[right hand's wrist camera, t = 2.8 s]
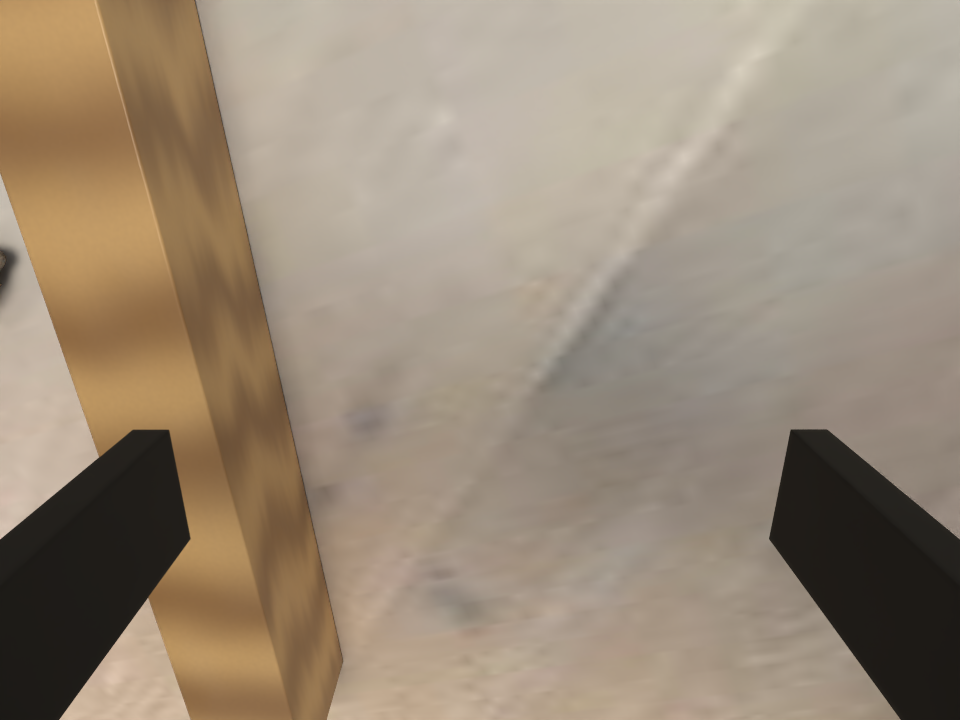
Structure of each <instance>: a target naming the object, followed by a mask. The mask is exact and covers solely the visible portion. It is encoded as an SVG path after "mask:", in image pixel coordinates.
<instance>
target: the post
mask: <svg viewBox="0 0 960 720" xmlns="http://www.w3.org/2000/svg"><path fill="white" fill-rule="evenodd" d="M0 174H1V176H2V179H3V182H4V185H5V188H6V191H7V194H8V197H9V199H10V202H11V205H12V208H13V211H14V214H15V217H16V220H17V222H18V225H19V228H20V231H21V234H22V237H23V240H24V243H25V245H26V248H27V251H28V254H29V257H30V260H31V263H32V265H33V268H34V271H35V274H36V277H37V280H38V283H39V286H40V288H41V291H42V294H43V297H44V300H45V303H46V306H47V309H48V311H49V314H50V317H51V320H52V323H53V326H54V329H55V331H56V334H57V337H58V340H59V343H60V346H61V349H62V352H63V354H64V357H65V360H66V363H67V366H68V369H69V372H70V375H71V377H72V380H73V383H74V386H75V389H76V392H77V395H78V398H79V400H80V403H81V406H82V409H83V412H84V415H85V418H86V420H87V423H88V426H89V429H90V432H91V435H92V438H93V441H94V443H95V446H96V449H97V452H98V455H99V457H100V456H102V455H103V454H104V453H105V452H106V451H108V450H109V449H110V448H111V447H112V446H114V445H115V444H116V443H117V442H119V441H120V440H121V439H122V438H123V437H125V436H126V435H127V434H128V433H129V432H131V431H132V430H169V431H170V436H171V441H172V446H173V451H174V456H175V462H176V467H177V472H178V477H179V482H180V487H181V492H182V497H183V502H184V507H185V512H186V517H187V522H188V527H189V532H190V537H191V539H190V541H189V542H188V543H187V545H186V546H185V548H184V549H183V550H182V552H181V553H180V554H179V556H178V557H177V558H176V560H175V561H174V563H173V564H172V565H171V567H170V568H169V569H168V571H167V572H166V574H165V575H164V576H163V578H162V579H161V580H160V582H159V583H158V585H157V586H156V587H155V589H154V590H153V591H152V593H151V594H150V596H149V597H148V598H149V601H150V604H151V607H152V610H153V613H154V616H155V619H156V621H157V624H158V627H159V630H160V633H161V636H162V639H163V642H164V644H165V647H166V650H167V653H168V656H169V659H170V662H171V664H172V667H173V670H174V673H175V676H176V679H177V682H178V685H179V687H180V690H181V693H182V696H183V699H184V702H185V705H186V708H187V710H188V713H189V716H190V719H191V720H327V716H328V712H329V709H330V705H331V702H332V698H333V695H334V691H335V688H336V684H337V681H338V677H339V674H340V670H341V667H342V663H343V659H342V655H341V650H340V646H339V642H338V637H337V633H336V628H335V624H334V619H333V615H332V610H331V606H330V601H329V597H328V593H327V588H326V584H325V579H324V575H323V570H322V566H321V561H320V557H319V552H318V548H317V544H316V539H315V535H314V530H313V526H312V521H311V517H310V512H309V508H308V503H307V499H306V495H305V490H304V486H303V481H302V477H301V472H300V468H299V463H298V459H297V455H296V450H295V446H294V441H293V437H292V432H291V428H290V423H289V419H288V414H287V410H286V406H285V401H284V397H283V392H282V388H281V383H280V379H279V374H278V370H277V365H276V361H275V357H274V352H273V348H272V343H271V339H270V334H269V330H268V325H267V321H266V316H265V312H264V308H263V303H262V299H261V294H260V290H259V285H258V281H257V276H256V272H255V267H254V263H253V259H252V254H251V250H250V245H249V241H248V236H247V232H246V227H245V223H244V218H243V214H242V210H241V205H240V201H239V196H238V192H237V187H236V183H235V178H234V174H233V169H232V165H231V161H230V156H229V152H228V147H227V143H226V138H225V134H224V129H223V125H222V120H221V116H220V112H219V107H218V103H217V98H216V94H215V89H214V85H213V80H212V76H211V71H210V67H209V63H208V58H207V54H206V49H205V45H204V40H203V36H202V31H201V27H200V22H199V18H198V14H197V9H196V5H195V0H0Z"/></svg>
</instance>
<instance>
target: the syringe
mask: <svg viewBox="0 0 960 720" xmlns="http://www.w3.org/2000/svg"><path fill="white" fill-rule="evenodd" d="M5 263H6V256H5V255H4V253H3V252H2V251H0V271H1V270H2V268H3V267H4V265H5ZM1 285H2V284H0V286H1Z"/></svg>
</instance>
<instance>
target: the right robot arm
mask: <svg viewBox="0 0 960 720" xmlns="http://www.w3.org/2000/svg"><path fill="white" fill-rule="evenodd" d="M190 539H191V537H190V532H189V527H188V522H187V517H186V512H185V507H184V502H183V497H182V492H181V487H180V482H179V477H178V472H177V467H176V462H175V456H174V451H173V446H172V441H171V436H170V431H169V430H132V431H131V432H129V433H128V434H127V435H126V436H125V437H123V438H122V439H121V440H120V441H119V442H117V443H116V444H115V445H114V446H112V447H111V448H110V449H109V450H108V451H106V452H105V453H104V454H103V455H102V456H100V457H99V458H98V459H97V460H96V461H94V462H93V463H92V464H91V465H90V466H88V467H87V468H86V469H85V470H84V471H82V472H81V473H80V474H79V475H77V476H76V477H75V478H74V479H73V480H71V481H70V482H69V483H68V484H67V485H65V486H64V487H63V488H62V489H61V490H59V491H58V492H57V493H56V494H55V495H53V496H52V497H51V498H50V499H49V500H47V501H46V502H45V503H44V504H43V505H41V506H40V507H39V508H38V509H36V510H35V511H34V512H33V513H32V514H30V515H29V516H28V517H27V518H26V519H24V520H23V521H22V522H21V523H20V524H18V525H17V526H16V527H15V528H14V529H12V530H11V531H10V532H9V533H8V534H6V535H5V536H4V537H3V538H2V539H0V720H59V719H60V718H61V716H62V715H63V714H64V712H65V711H66V710H67V708H68V707H69V705H70V704H71V703H72V701H73V700H74V699H75V697H76V696H77V694H78V693H79V692H80V690H81V689H82V688H83V686H84V685H85V683H86V682H87V681H88V679H89V678H90V677H91V675H92V674H93V672H94V671H95V670H96V668H97V667H98V666H99V664H100V663H101V661H102V660H103V659H104V657H105V656H106V655H107V653H108V652H109V650H110V649H111V648H112V646H113V645H114V644H115V642H116V641H117V640H118V638H119V637H120V635H121V634H122V633H123V631H124V630H125V629H126V627H127V626H128V624H129V623H130V622H131V620H132V619H133V618H134V616H135V615H136V613H137V612H138V611H139V609H140V608H141V607H142V605H143V604H144V602H145V601H146V600H147V598H148V597H149V596H150V594H151V593H152V591H153V590H154V589H155V587H156V586H157V585H158V583H159V582H160V580H161V579H162V578H163V576H164V575H165V574H166V572H167V571H168V569H169V568H170V567H171V565H172V564H173V563H174V561H175V560H176V558H177V557H178V556H179V554H180V553H181V552H182V550H183V549H184V548H185V546H186V545H187V543H188V542H189V541H190ZM769 539H770V541H771V542H772V543H773V545H774V546H775V548H776V549H777V550H778V552H779V553H780V554H781V556H782V557H783V559H784V560H785V561H786V563H787V564H788V565H789V567H790V568H791V569H792V571H793V572H794V574H795V575H796V576H797V578H798V579H799V580H800V582H801V583H802V585H803V586H804V587H805V589H806V590H807V591H808V593H809V594H810V596H811V597H812V598H813V600H814V601H815V602H816V604H817V605H818V607H819V608H820V609H821V611H822V612H823V613H824V615H825V616H826V618H827V619H828V620H829V622H830V623H831V624H832V626H833V627H834V629H835V630H836V631H837V633H838V634H839V635H840V637H841V638H842V640H843V641H844V642H845V644H846V645H847V646H848V648H849V649H850V650H851V652H852V653H853V655H854V656H855V657H856V659H857V660H858V661H859V663H860V664H861V666H862V667H863V668H864V670H865V671H866V672H867V674H868V675H869V677H870V678H871V679H872V681H873V682H874V683H875V685H876V686H877V688H878V689H879V690H880V692H881V693H882V694H883V696H884V697H885V699H886V700H887V701H888V703H889V704H890V705H891V707H892V708H893V710H894V711H895V712H896V714H897V715H898V716H899V718H900V719H901V720H960V539H958V538H957V537H956V536H955V535H954V534H952V533H951V532H950V531H949V530H948V529H946V528H945V527H944V526H943V525H942V524H940V523H939V522H938V521H937V520H936V519H934V518H933V517H932V516H931V515H930V514H928V513H927V512H926V511H925V510H924V509H922V508H921V507H920V506H919V505H917V504H916V503H915V502H914V501H913V500H911V499H910V498H909V497H908V496H907V495H905V494H904V493H903V492H902V491H901V490H899V489H898V488H897V487H896V486H895V485H893V484H892V483H891V482H890V481H889V480H887V479H886V478H885V477H884V476H882V475H881V474H880V473H879V472H878V471H876V470H875V469H874V468H873V467H872V466H870V465H869V464H868V463H867V462H866V461H864V460H863V459H862V458H861V457H860V456H858V455H857V454H856V453H855V452H854V451H852V450H851V449H850V448H849V447H848V446H846V445H845V444H844V443H843V442H841V441H840V440H839V439H838V438H837V437H835V436H834V435H833V434H832V433H831V432H829V431H828V430H791V431H790V436H789V441H788V446H787V451H786V456H785V462H784V467H783V472H782V477H781V482H780V487H779V492H778V497H777V502H776V507H775V512H774V517H773V522H772V527H771V532H770V537H769Z"/></svg>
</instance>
